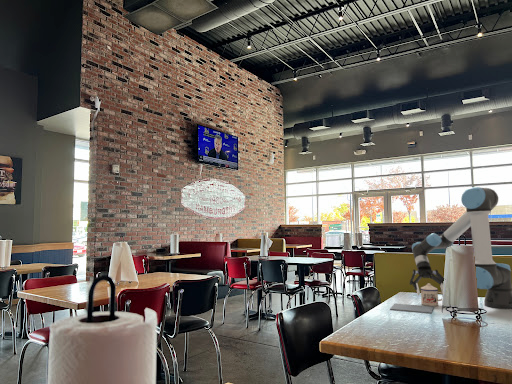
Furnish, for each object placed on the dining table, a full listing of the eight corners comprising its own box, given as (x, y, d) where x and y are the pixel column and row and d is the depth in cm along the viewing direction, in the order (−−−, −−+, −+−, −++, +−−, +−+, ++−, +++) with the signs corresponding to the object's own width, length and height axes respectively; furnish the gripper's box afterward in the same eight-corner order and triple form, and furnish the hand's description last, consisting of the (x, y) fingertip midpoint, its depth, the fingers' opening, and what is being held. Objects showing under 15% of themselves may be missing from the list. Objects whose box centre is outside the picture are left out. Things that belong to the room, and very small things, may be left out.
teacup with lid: (421, 305, 214) (420, 284, 215) (420, 302, 222) (419, 282, 223) (445, 307, 209) (444, 285, 210) (444, 304, 217) (442, 283, 219)
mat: (433, 307, 208) (433, 306, 208) (431, 313, 194) (431, 312, 194) (394, 304, 218) (394, 303, 218) (389, 309, 204) (389, 308, 204)
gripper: (443, 268, 232) (453, 298, 216) (400, 268, 236) (407, 297, 220) (446, 260, 228) (456, 290, 212) (402, 260, 231) (409, 289, 215)
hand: (431, 294), depth 216 cm, fingers open, 13 cm apart
